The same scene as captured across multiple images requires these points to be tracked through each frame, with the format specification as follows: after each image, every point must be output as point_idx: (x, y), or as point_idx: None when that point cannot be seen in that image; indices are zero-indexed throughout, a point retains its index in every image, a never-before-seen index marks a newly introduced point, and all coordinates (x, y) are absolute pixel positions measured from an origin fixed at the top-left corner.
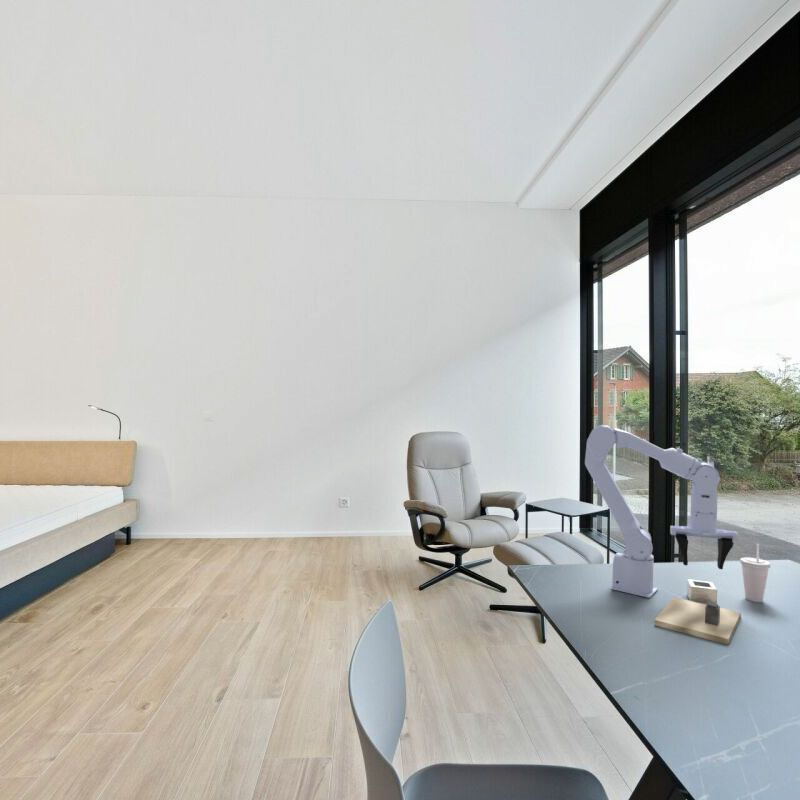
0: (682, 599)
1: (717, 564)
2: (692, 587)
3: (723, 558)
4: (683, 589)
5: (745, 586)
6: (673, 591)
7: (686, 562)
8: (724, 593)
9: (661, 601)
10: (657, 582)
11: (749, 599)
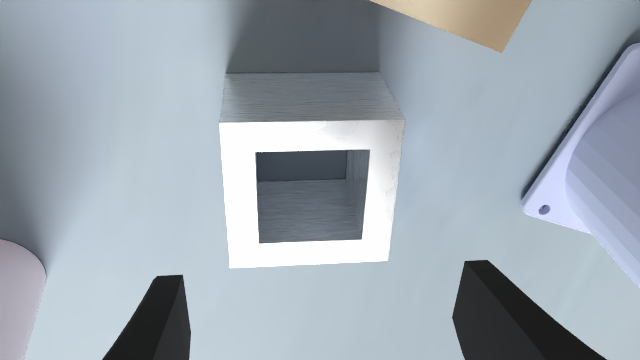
0: (457, 22)
1: (189, 351)
2: (395, 115)
3: (125, 356)
4: (363, 271)
5: (19, 312)
6: (428, 222)
7: (487, 276)
8: None
9: (566, 21)
10: None
11: (22, 250)
